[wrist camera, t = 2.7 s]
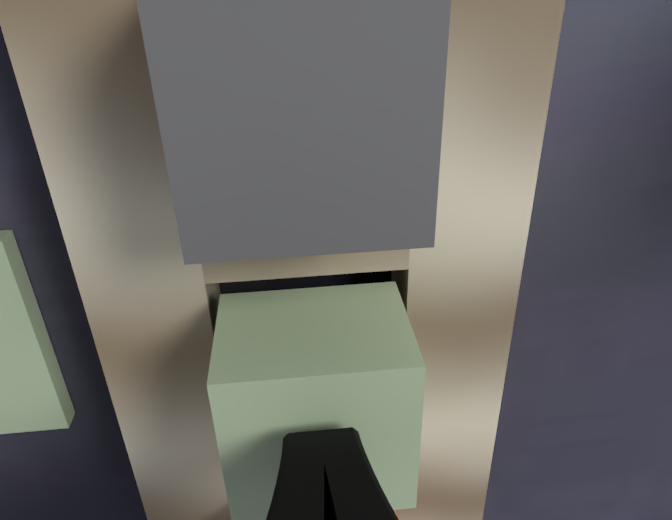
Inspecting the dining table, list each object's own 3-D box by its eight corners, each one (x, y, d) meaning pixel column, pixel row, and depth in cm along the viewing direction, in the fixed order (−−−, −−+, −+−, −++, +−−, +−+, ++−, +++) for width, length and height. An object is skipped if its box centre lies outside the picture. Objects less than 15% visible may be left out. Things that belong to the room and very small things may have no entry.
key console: (456, 522, 21) (473, 575, 19) (182, 551, 20) (174, 609, 18) (539, -133, 11) (588, -146, 9) (6, -122, 10) (-47, -134, 9)
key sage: (391, 409, 15) (416, 507, 12) (239, 422, 15) (232, 526, 12) (395, 281, 13) (426, 366, 10) (220, 294, 13) (206, 385, 10)
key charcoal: (398, 179, 12) (434, 247, 9) (204, 191, 11) (184, 264, 9) (405, -37, 10) (452, -30, 7) (171, -30, 10) (132, -19, 7)
